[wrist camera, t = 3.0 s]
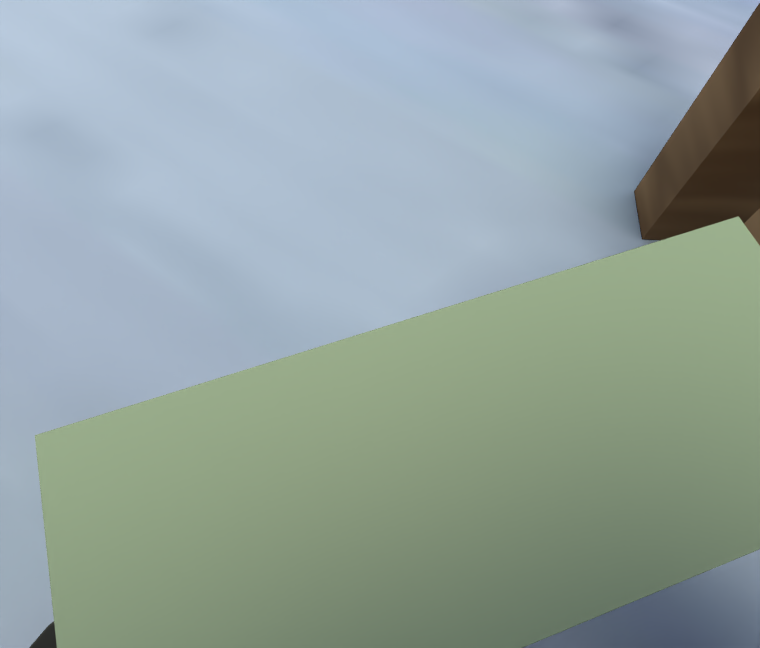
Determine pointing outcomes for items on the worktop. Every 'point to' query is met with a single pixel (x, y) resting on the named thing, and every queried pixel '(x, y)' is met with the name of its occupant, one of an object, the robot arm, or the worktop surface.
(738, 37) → the walnut domino end
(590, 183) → the worktop surface
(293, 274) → the worktop surface
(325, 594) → the green domino
